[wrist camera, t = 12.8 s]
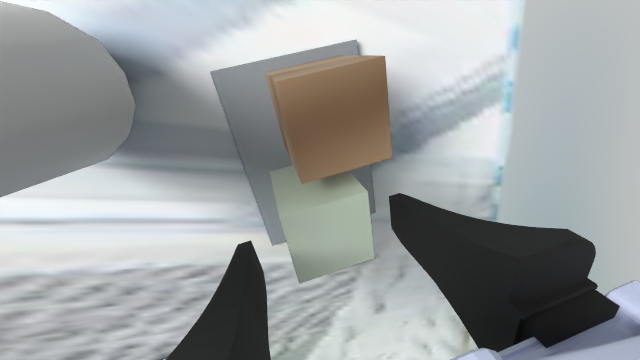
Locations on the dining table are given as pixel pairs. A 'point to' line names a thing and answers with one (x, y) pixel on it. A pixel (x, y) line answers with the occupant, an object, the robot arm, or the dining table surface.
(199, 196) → the dining table surface
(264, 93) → the slate mat
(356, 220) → the sage block
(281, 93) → the walnut block
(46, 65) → the salt shaker
